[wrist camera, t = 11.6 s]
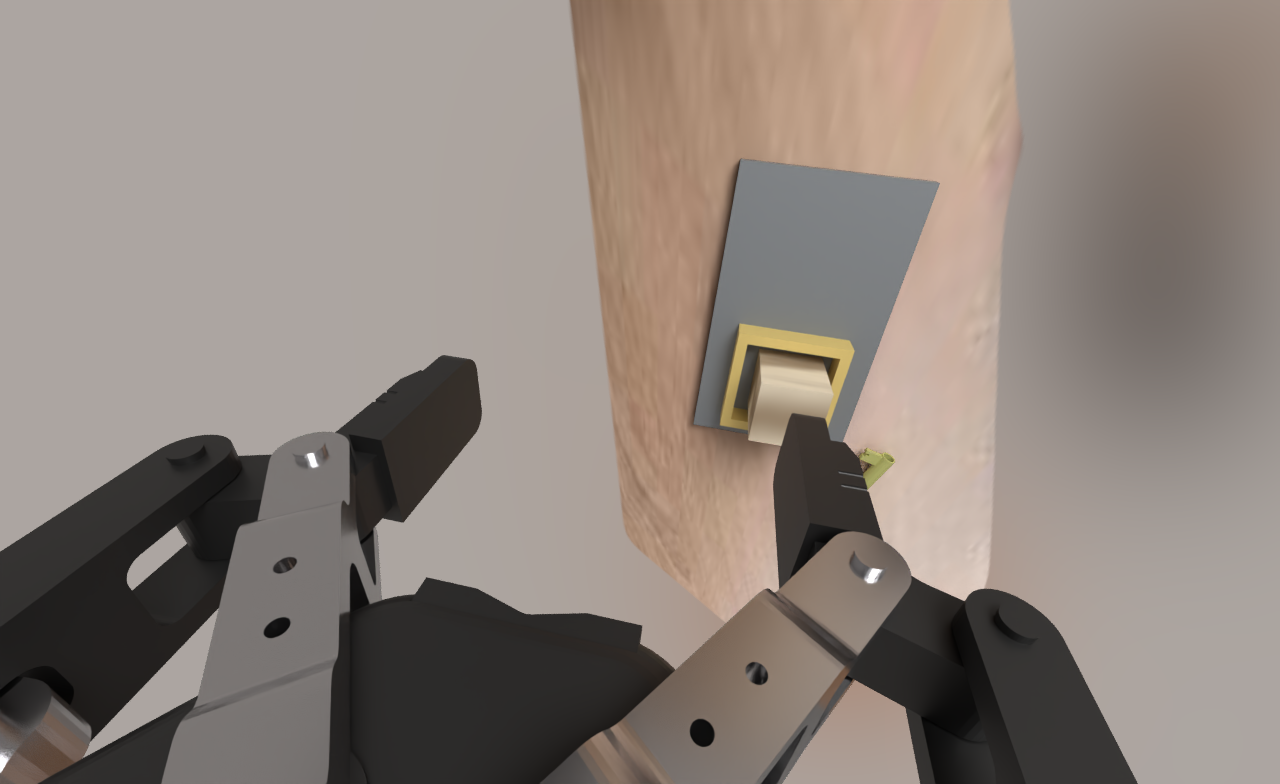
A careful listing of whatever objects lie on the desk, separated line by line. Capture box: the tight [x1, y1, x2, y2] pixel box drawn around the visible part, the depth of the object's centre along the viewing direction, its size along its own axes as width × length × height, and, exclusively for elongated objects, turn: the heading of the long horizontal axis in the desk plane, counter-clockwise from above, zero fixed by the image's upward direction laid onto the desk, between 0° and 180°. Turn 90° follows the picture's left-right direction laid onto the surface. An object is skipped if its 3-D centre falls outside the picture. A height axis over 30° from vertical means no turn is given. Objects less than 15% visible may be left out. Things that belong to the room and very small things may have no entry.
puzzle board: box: [694, 159, 940, 442], centre depth 38 cm, size 22×13×3 cm, turn 174°
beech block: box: [748, 349, 834, 446], centre depth 38 cm, size 5×5×6 cm
